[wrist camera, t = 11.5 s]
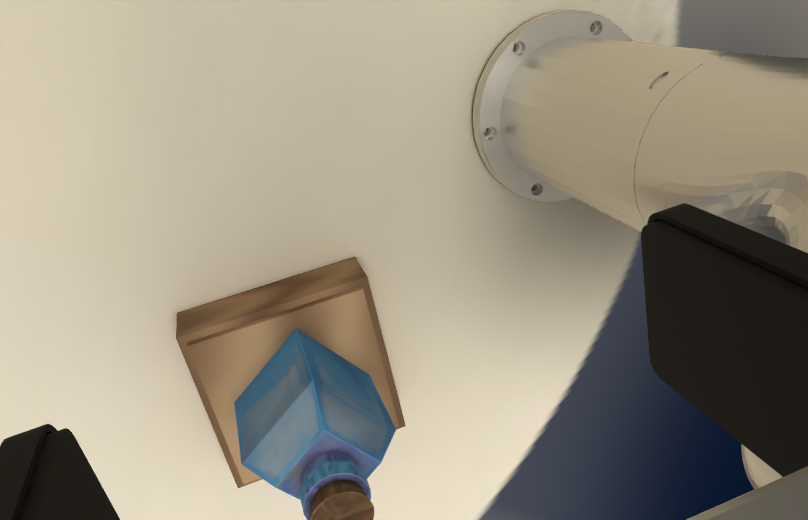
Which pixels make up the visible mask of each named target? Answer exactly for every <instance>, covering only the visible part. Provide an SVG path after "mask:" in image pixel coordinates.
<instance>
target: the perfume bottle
mask: <svg viewBox="0 0 808 520" xmlns="http://www.w3.org/2000/svg"><path fill="white" fill-rule="evenodd" d="M234 405H235V413H236V422H237V431H238V439H239V448H240V457H241V464H242V465H243V466H245V467H246V468H247V469H249V470H250V471H252V472H253V473H255V474H256V475H258V476H259V477H261V478H262V479H264V480H265V481H267V482H268V483H270V484H271V485H273V486H274V487H276V488H278V489H280V490H282V491H284V492H286V493H288V494H290V495H292V496H294V497H296V498H298V499H300V500H301V503H302V507H303V512H304V515H305V517H306V518H307V520H373V518H374V506H373V505H372V503H371V501H370V500H371V491H370V487H369V484H368V482H367V478H368V477H369V476H370V475H371V473H372V472H373V471H374V470H375V469H376V468H377V467H378V465H379V464H380V463H381V462H382V459H383V457H384V455H385V453H386V451H387V448H388V446H389V444H390V442H391V439H392V437H393V435H394V433H395V431H396V428H395V426H394V424H393V422H392V420H391V418H390V416H389V413H388V411H387V409H386V407H385V405H384V403H383V401H382V399H381V397H380V395H379V393H378V391H377V389H376V387H375V384H374V382H373V380H372V378H371V376H370V375H369V374H368V373H366V372H365V371H363V370H361V369H360V368H358V367H357V366H355V365H354V364H352V363H350V362H349V361H347V360H346V359H344V358H343V357H341V356H339V355H338V354H336V353H335V352H333V351H332V350H330V349H328V348H327V347H325V346H324V345H322V344H321V343H319V342H317V341H316V340H314V339H313V338H311V337H310V336H308V335H306V334H305V333H303V332H302V331H300V330H299V329H297V328H296V329H295V330H294V331H293V333H292V334H291V335H290V336H289V337H288V339H287V340H286V341H285V342H284V343H283V345H282V346H281V347H280V348H279V349H278V351H277V352H276V353H275V354H274V355H273V357H272V358H271V359H270V360H269V361H268V363H267V364H266V365H265V366H264V367H263V369H262V370H261V371H260V372H259V373H258V375H257V376H256V377H255V378H254V379H253V381H252V382H251V383H250V384H249V385H248V387H247V388H246V389H245V390H244V391H243V393H242V394H241V395H240V396H239V397H238V399H237V400H236V401H235V402H234Z"/></svg>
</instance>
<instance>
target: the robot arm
mask: <svg viewBox="0 0 808 520" xmlns="http://www.w3.org/2000/svg"><path fill="white" fill-rule="evenodd" d="M591 26H592V27H591ZM590 27H591V30H590ZM514 44H515V45H516V49H515V51H513V46H514ZM473 128H474V137H475V141H476V144H477V147H478V150H479V154H480V156H481V158H482V160H483V161H484V163H485V165H486V167H487V169H488V170H489V171H490V172H491V173H492V175H493V176H494V177H495V178H496V179H497V180H498V181H499V182H500V183H501V184H503V185H504V186H505V187H507V188H508V189H509V190H511V191H513V192H515V193H517V194H519V195H520V196H522V197H525V198H528V199H531V200H534V201H543V202H558V201H566V200H569V199H573V198H576V199H578V200H580V201H582V202H583V203H585V204H587V205H589V206H591V207H593V208H595V209H597V210H599V211H601V212H603V213H605V214H607V215H609V216H610V217H612V218H614V219H616V220H618V221H620V222H622V223H624V224H626V225H628V226H630V227H632V228H634V229H636V230H638V231H639V232H641V242H642V256H643V270H644V283H645V297H646V311H647V325H648V339H649V352H650V361H651V364H652V367H653V369H654V371H655V372H656V374H657V375H658V376H659V377H660V378H661V379H662V380H663V381H664V382H665V383H667V384H668V385H669V386H670V387H672V388H673V389H674V390H675V391H676V392H678V393H679V394H680V395H681V396H683V397H684V398H685V399H686V400H688V401H689V402H691V403H692V404H693V405H694V406H695V407H697V408H698V409H699V410H700V411H701V412H703V413H704V414H705V415H706V416H708V417H709V418H710V419H711V420H713V421H714V422H715V423H716V424H717V425H719V426H720V427H721V428H722V429H724V430H725V431H726V432H728V433H729V434H730V435H731V436H732V437H734V438H735V439H736V440H738V441H739V442H740V443H741V445H742V458H743V463H744V467H745V471H746V474H747V476H748V478H749V480H750V482H751V484H752V486H753V488H754V490H753V491H751V492H748V493H746V494H744V495H742V496H739V497H737V498H735V499H732V500H730V501H728V502H726V503H724V504H721V505H719V506H717V507H714V508H712V509H710V510H708V511H705V512H703V513H701V514H699V515H697V516H694V517H692V518H690V519H687V520H808V58H792V57H779V56H768V55H758V54H748V53H745V54H744V53H734V52H724V51H714V50H703V49H694V48H684V47H674V46H665V45H655V44H645V43H635V42H632V41H631V40H630V38H629V36H628V35H627V34H626V33H625V32H624V31H623V30H622V29H621V28H620V27H619V26H618V25H616V24H614V23H613V22H611V21H610V20H608V19H606V18H605V17H603V16H600V15H597V14H594V13H591V12H586V11H575V10H569V11H555V12H551V13H547V14H543V15H540V16H538V17H536V18H534V19H532V20H530V21H528V22H526V23H524V24H522V25H521V26H520V27H519V28H517V29H516V30H515V31H513V32H512V33H511V34H509V35H508V36H507V38H506V39H505V40H504V41H503V42H502V43H501V44H500V45H499V46H498V47H497V49H496V50H495V52H494V53H493V55H492V56H491V58H490V59H489V61H488V63H487V64H486V66H485V68H484V71H483V73H482V75H481V78H480V80H479V82H478V86H477V90H476V95H475V99H474V106H473ZM486 128H488V132H487V134H485V135H484V131H485V130H486ZM533 185H534V187H533ZM532 187H533V189H532ZM0 520H120V519H119V517H118V515H117V513H116V511H115V509H114V508H113V506H112V504H111V502H110V500H109V499H108V497H107V495H106V493H105V491H104V489H103V488H102V486H101V484H100V482H99V480H98V479H97V477H96V475H95V473H94V471H93V469H92V468H91V466H90V464H89V462H88V460H87V458H86V457H85V455H84V453H83V451H82V449H81V448H80V446H79V444H78V442H77V440H76V438H75V437H74V435H73V434H72V432H71V431H70V430H69V429H66V428H65V429H62V430H59V431H57V430H56V429H55V428H54V427H53V426H52V425H50V424H46V425H43V426H40V427H37V428H35V429H32V430H29V431H26V432H23V433H20V434H17V435H14V436H12V437H9V438H6V439H4V441H3V442H2V444H1V446H0Z"/></svg>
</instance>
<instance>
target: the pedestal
mask: <svg viewBox="0 0 808 520" xmlns="http://www.w3.org/2000/svg"><path fill="white" fill-rule="evenodd" d="M296 328H297V329H299V330H300V331H302V332H303V333H305V334H306V335H308V336H310V337H311V338H313V339H314V340H316V341H317V342H319V343H321V344H322V345H324V346H325V347H327V348H328V349H330V350H332V351H333V352H335V353H336V354H338V355H339V356H341V357H343V358H344V359H346V360H347V361H349V362H350V363H352V364H354V365H355V366H357V367H358V368H360V369H361V370H363V371H365V372H366V373H368V374H369V375H370V376H371V378H372V380H373V382H374V384H375V387H376V389H377V391H378V393H379V395H380V397H381V399H382V401H383V403H384V405H385V407H386V409H387V411H388V413H389V416H390V418H391V420H392V422H393V424H394V426H395V428H396V429H399V428H401V427H404V426H405V422H404V418H403V414H402V410H401V406H400V402H399V399H398V395H397V391H396V387H395V383H394V379H393V375H392V371H391V367H390V364H389V360H388V356H387V352H386V348H385V344H384V340H383V336H382V332H381V329H380V325H379V321H378V317H377V313H376V309H375V305H374V301H373V297H372V294H371V290H370V286H369V282H368V278H367V276H366V274H365V272H364V271H363V269H362V268H361V266H360V265H359V263H358V262H357V260H356V258H355V257H354V258H350V259H347V260H344V261H341V262H338V263H335V264H331V265H328V266H325V267H322V268H319V269H316V270H312V271H309V272H306V273H303V274H300V275H297V276H293V277H290V278H287V279H284V280H281V281H278V282H274V283H271V284H268V285H265V286H262V287H259V288H255V289H252V290H249V291H246V292H243V293H240V294H236V295H233V296H230V297H227V298H224V299H221V300H217V301H214V302H211V303H208V304H205V305H202V306H198V307H195V308H192V309H189V310H186V311H183V312H179V313H177V331H176V339H177V341H178V344H179V346H180V348H181V351H182V353H183V356H184V358H185V361H186V363H187V365H188V368H189V370H190V373H191V375H192V378H193V380H194V382H195V385H196V387H197V390H198V392H199V395H200V397H201V399H202V402H203V404H204V407H205V409H206V412H207V414H208V416H209V419H210V421H211V424H212V426H213V429H214V431H215V433H216V436H217V438H218V441H219V443H220V446H221V448H222V450H223V453H224V455H225V458H226V460H227V463H228V465H229V467H230V470H231V472H232V475H233V477H234V480H235V482H236V484H237V487H238V488H240V487H243V486H245V485H248V484H251V483H253V482H256V481H259V480H261V479H262V478H261V477H259V476H258V475H256V474H255V473H253V472H252V471H250V470H249V469H247V468H246V467H245V466H243V465H242V464H241V457H240V448H239V439H238V431H237V422H236V413H235V405H234V402H235V401H236V400H237V399H238V397H239V396H240V395H241V394H242V393H243V391H244V390H245V389H246V388H247V387H248V385H249V384H250V383H251V382H252V381H253V379H254V378H255V377H256V376H257V375H258V373H259V372H260V371H261V370H262V369H263V367H264V366H265V365H266V364H267V363H268V361H269V360H270V359H271V358H272V357H273V355H274V354H275V353H276V352H277V351H278V349H279V348H280V347H281V346H282V345H283V343H284V342H285V341H286V340H287V339H288V337H289V336H290V335H291V334H292V333H293V331H294V330H295V329H296Z"/></svg>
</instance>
